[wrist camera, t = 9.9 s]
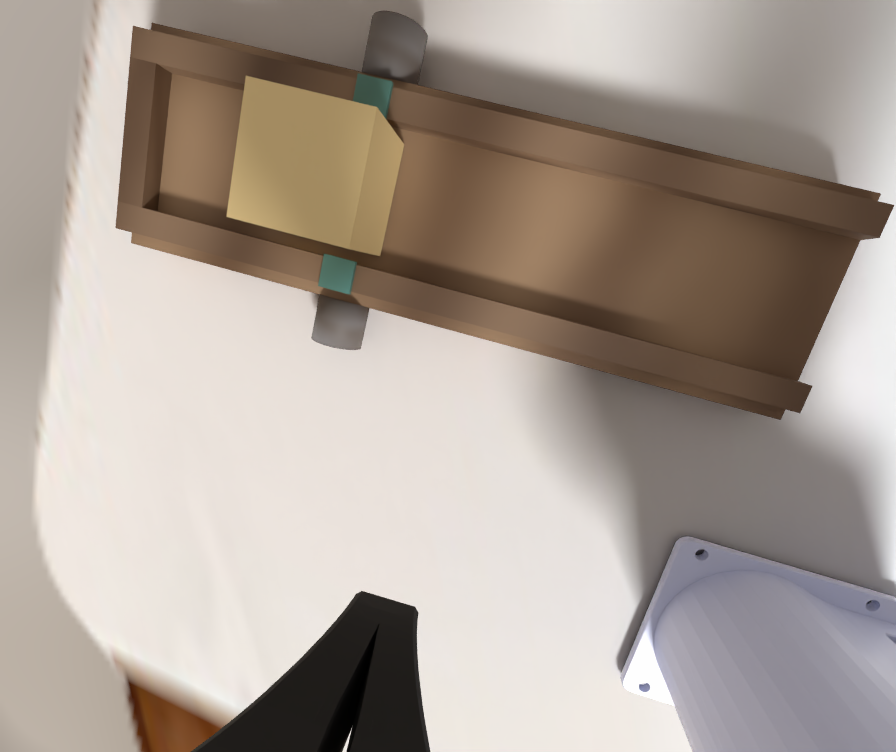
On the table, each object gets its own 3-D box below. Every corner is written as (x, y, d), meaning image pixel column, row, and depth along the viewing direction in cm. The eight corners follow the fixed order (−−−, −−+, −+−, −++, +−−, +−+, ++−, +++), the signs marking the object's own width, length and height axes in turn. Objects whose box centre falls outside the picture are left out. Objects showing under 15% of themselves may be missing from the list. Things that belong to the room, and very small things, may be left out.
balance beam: (869, 149, 16) (935, 124, 13) (740, 450, 18) (776, 475, 16) (185, -7, 18) (134, -54, 15) (154, 286, 20) (106, 286, 18)
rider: (404, 144, 16) (377, 107, 13) (380, 256, 17) (348, 249, 14) (299, 118, 17) (245, 75, 13) (281, 230, 17) (226, 216, 14)
